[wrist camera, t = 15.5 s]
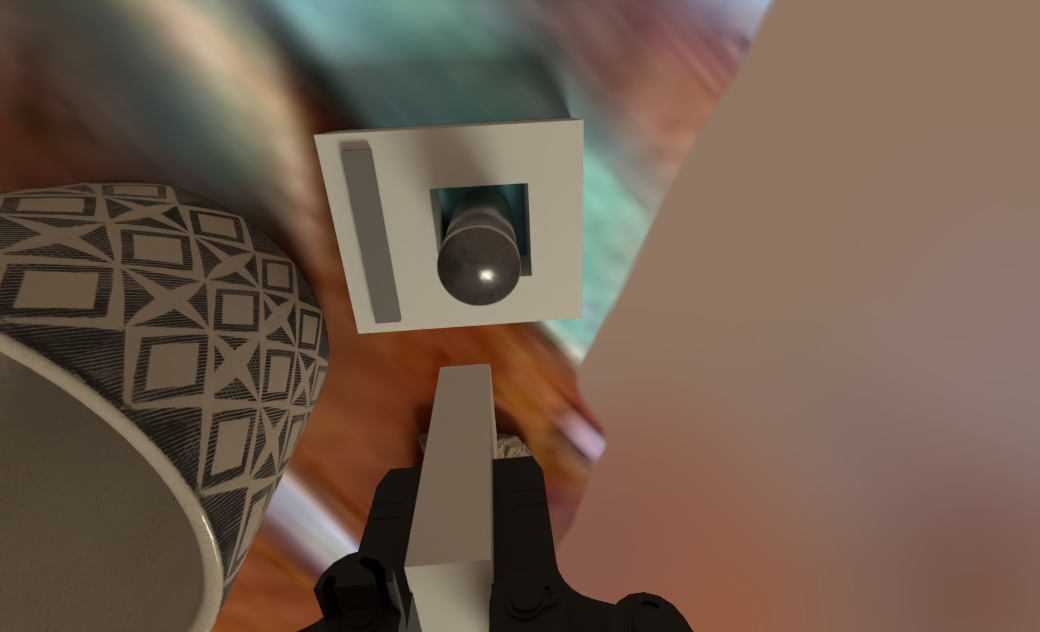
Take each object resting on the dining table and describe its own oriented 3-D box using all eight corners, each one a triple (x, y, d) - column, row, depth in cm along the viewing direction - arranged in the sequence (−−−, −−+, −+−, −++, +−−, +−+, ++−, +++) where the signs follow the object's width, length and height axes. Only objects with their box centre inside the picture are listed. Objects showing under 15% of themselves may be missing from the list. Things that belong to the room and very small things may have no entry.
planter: (135, 73, 31) (-498, 22, 11) (416, 328, 40) (343, 548, 20) (-45, 308, 37) (-663, 546, 17) (234, 483, 46) (42, 768, 26)
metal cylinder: (449, 189, 35) (431, 229, 25) (510, 186, 36) (519, 223, 25) (456, 248, 37) (442, 308, 27) (513, 244, 38) (523, 303, 27)
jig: (337, 130, 33) (310, 135, 28) (570, 117, 34) (585, 120, 29) (373, 306, 39) (356, 337, 34) (571, 293, 40) (583, 321, 35)
